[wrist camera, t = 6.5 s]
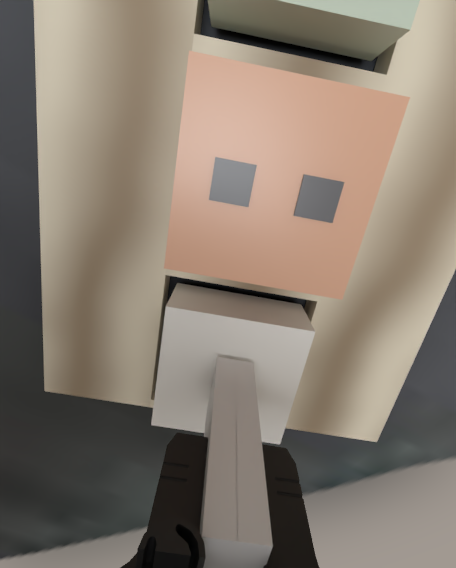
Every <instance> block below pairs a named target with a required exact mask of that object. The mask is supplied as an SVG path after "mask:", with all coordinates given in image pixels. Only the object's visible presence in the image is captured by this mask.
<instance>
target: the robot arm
mask: <svg viewBox="0 0 456 568" xmlns="http://www.w3.org/2000/svg"><path fill="white" fill-rule="evenodd" d="M121 568H319V566H318V563H317V559H316V556H315V552H314V548H313V543H312V538H311V533H310V528H309V524H308V519H307V514H306V510H305V505H304V500H303V499H302V491H301V486H300V484H299V477H298V472H297V468H296V463H295V462H294V460H293V458H292V457H291V455H290V454H289V452H288V450H287V449H286V448H281V447H275V446H268V445H262V439H261V430H260V421H259V411H258V402H257V392H256V383H255V373H254V364H253V363H252V362H246V361H240V360H234V359H228V358H222V357H217V361H216V366H215V371H214V376H213V381H212V386H211V391H210V396H209V401H208V406H207V412H206V421H205V431H204V437H202V436H196V435H189V434H182V433H177V434H176V435H175V436H174V438H173V439H172V440H171V441H170V443H169V444H168V445H167V449H166V454H165V458H164V462H163V466H162V470H161V474H160V479H159V483H158V487H157V491H156V495H155V499H154V504H153V508H152V512H151V516H150V520H149V524H148V529H147V532H146V533H145V534H144V536H143V538H142V540H141V543H140V545H139V547H138V552H137V554H136V555H135V556H134V557H133V558H132V559H131V560H130V562H128V563H127V564H125V565H124V566H122V567H121Z"/></svg>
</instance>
